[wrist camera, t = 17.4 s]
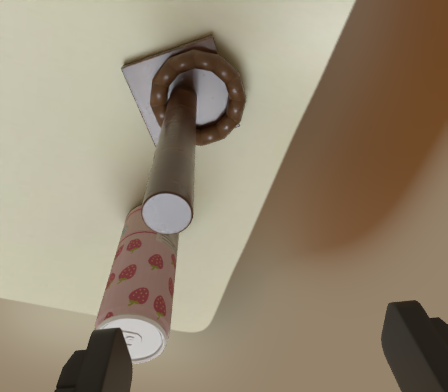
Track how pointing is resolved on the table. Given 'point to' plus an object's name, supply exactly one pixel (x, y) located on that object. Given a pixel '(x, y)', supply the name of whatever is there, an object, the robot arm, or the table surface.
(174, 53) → the post
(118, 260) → the beverage can
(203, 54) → the ring
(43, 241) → the table surface
